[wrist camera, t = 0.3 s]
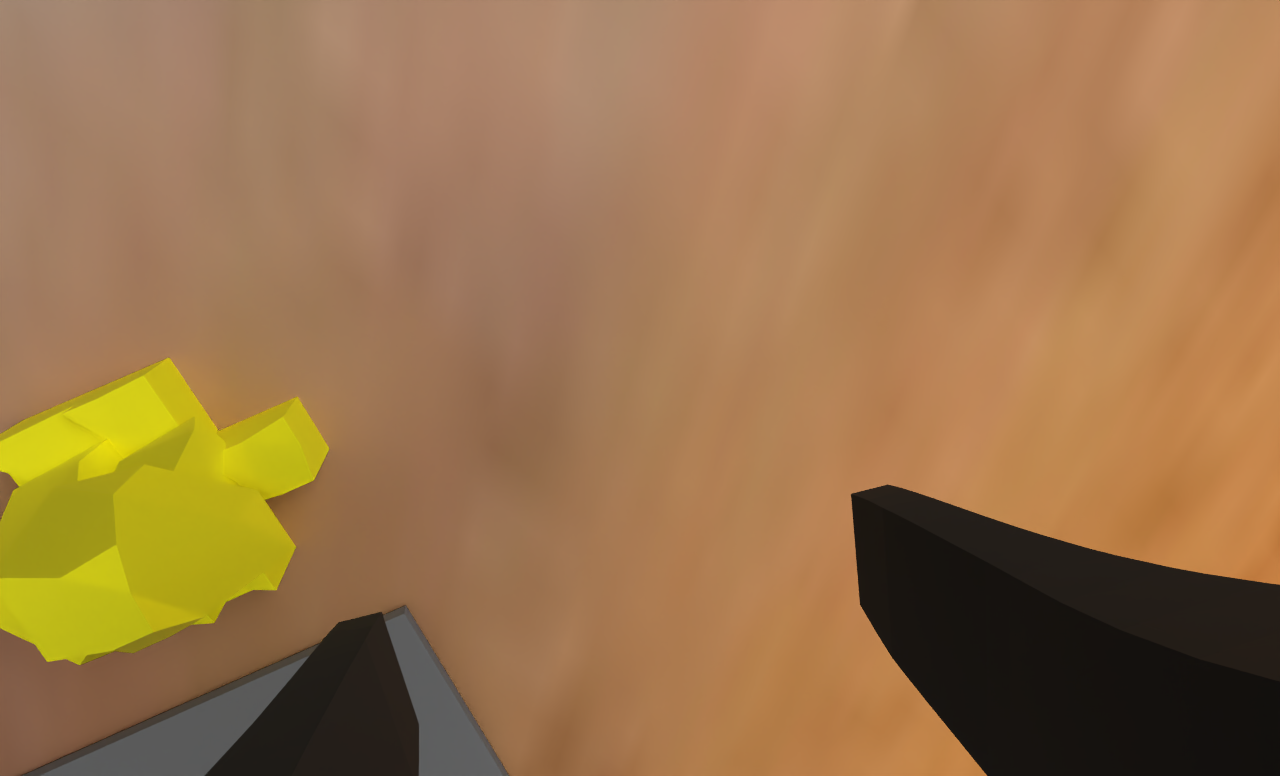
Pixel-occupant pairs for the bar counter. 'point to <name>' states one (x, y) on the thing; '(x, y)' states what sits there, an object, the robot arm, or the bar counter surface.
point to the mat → (209, 725)
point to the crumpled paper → (142, 514)
